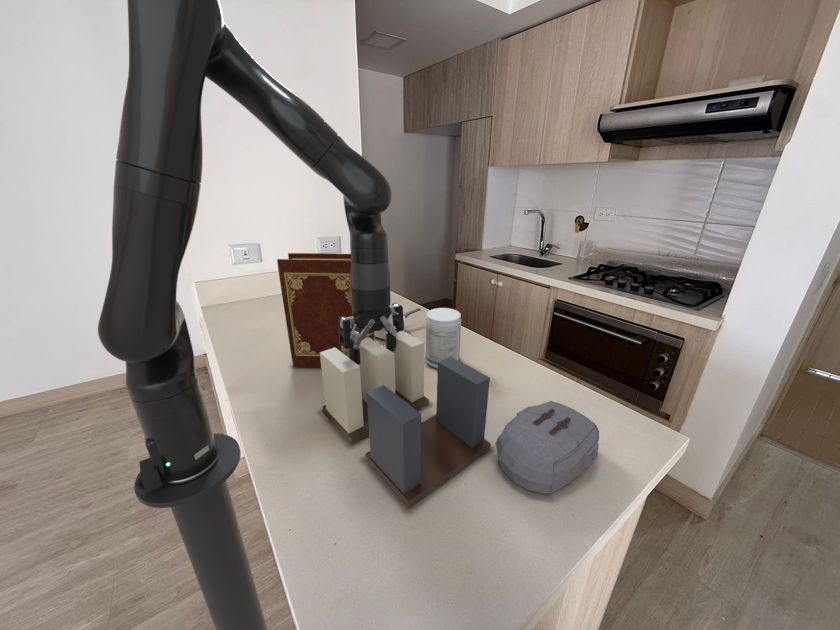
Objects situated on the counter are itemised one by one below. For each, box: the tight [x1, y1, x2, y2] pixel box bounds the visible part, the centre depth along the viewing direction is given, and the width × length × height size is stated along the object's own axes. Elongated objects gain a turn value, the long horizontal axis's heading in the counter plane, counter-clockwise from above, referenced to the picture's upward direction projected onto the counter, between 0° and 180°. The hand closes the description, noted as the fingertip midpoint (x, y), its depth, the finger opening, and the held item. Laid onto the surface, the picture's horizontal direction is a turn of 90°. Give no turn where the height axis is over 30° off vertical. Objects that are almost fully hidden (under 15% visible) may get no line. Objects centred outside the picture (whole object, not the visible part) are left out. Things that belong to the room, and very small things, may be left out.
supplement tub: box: [425, 307, 462, 369], centre depth 94 cm, size 10×10×15 cm
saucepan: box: [374, 307, 422, 340], centre depth 115 cm, size 12×20×6 cm, turn 133°
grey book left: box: [367, 385, 422, 494], centre depth 56 cm, size 4×10×14 cm, turn 40°
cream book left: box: [320, 348, 364, 434], centre depth 69 cm, size 4×10×14 cm, turn 40°
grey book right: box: [435, 357, 491, 447], centre depth 66 cm, size 4×10×14 cm, turn 40°
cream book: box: [358, 337, 395, 403], centre depth 74 cm, size 4×10×14 cm, turn 40°
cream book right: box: [384, 330, 425, 402], centre depth 79 cm, size 4×10×14 cm, turn 40°
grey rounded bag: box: [495, 400, 600, 494], centre depth 62 cm, size 15×8×20 cm
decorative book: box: [276, 252, 377, 369], centre depth 91 cm, size 22×8×30 cm, turn 89°
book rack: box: [321, 390, 492, 509], centre depth 70 cm, size 20×31×2 cm, turn 40°
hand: (374, 356), depth 72 cm, fingers open, 8 cm apart
